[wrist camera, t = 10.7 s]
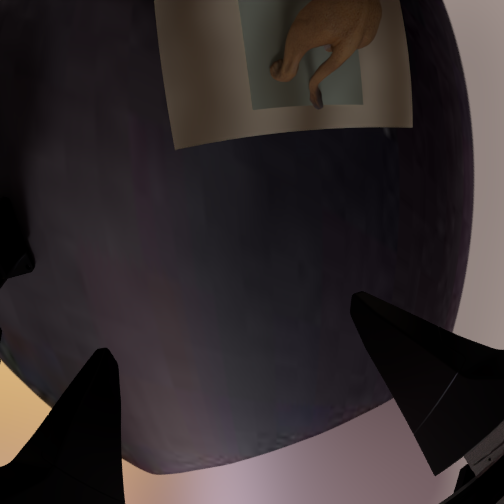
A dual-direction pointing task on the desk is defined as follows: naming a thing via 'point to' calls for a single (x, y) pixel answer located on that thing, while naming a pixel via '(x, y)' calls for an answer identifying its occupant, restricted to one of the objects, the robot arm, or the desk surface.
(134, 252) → the desk surface
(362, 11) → the lion figurine
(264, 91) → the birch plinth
